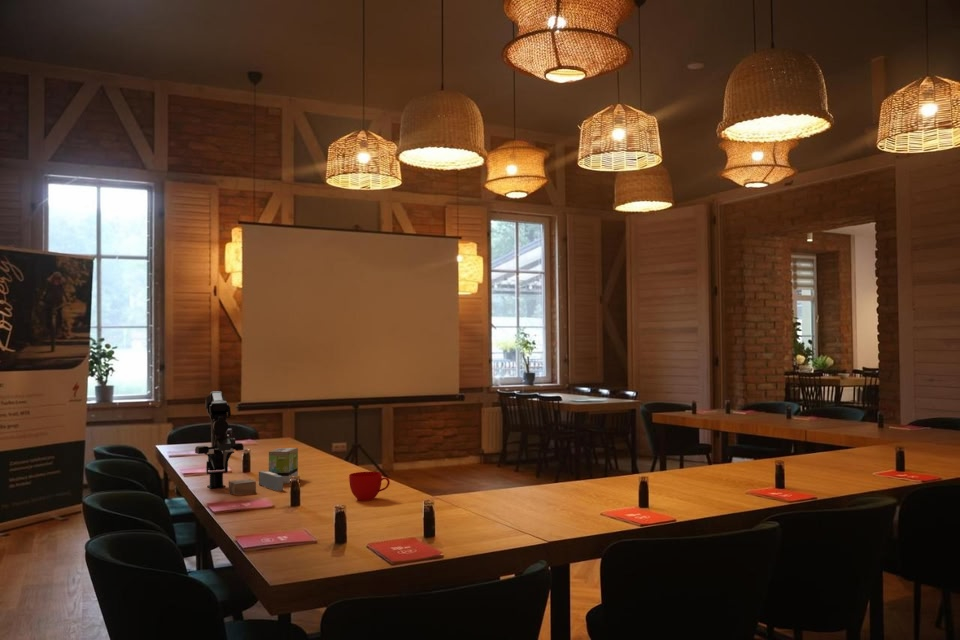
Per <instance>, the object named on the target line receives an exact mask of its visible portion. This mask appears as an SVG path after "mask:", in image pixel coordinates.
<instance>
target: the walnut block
mask: <svg viewBox="0 0 960 640" xmlns="http://www.w3.org/2000/svg"><path fill="white" fill-rule="evenodd" d="M229 492H230V493H229ZM228 493H229V494H231V493H232V495H233V494H234V496H238V495H240V494H241V495H247V494H248V493H250V494H257V482H256V481H255V480H254V479H251V478H245V479H236V480H228Z"/></svg>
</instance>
